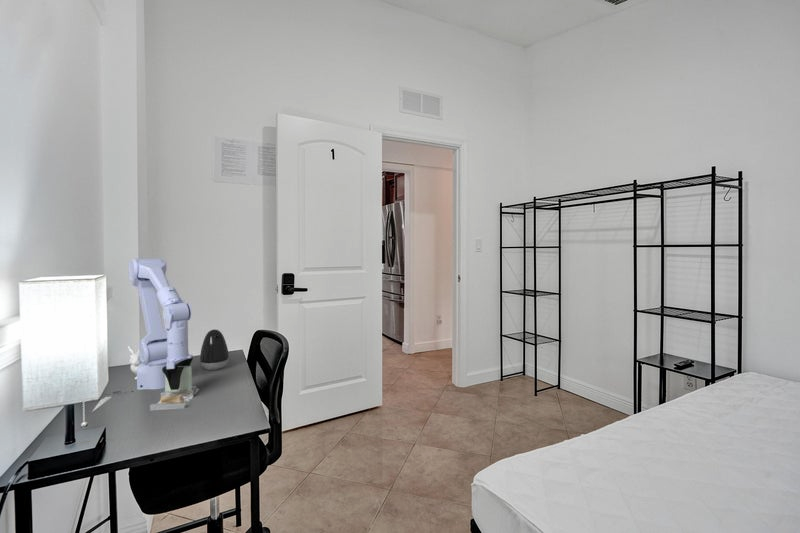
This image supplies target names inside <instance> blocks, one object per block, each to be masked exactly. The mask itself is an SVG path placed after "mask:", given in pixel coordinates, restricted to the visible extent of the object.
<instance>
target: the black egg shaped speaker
mask: <svg viewBox="0 0 800 533" xmlns="http://www.w3.org/2000/svg"><path fill="white" fill-rule="evenodd" d="M229 357H230V355H229V349H228V344H227V342H226V339H225V337H224V334H223V333H222V332H221V330H219V329H215V328H214V329H210V330H209V331H207V333H206V334H205V337H204V338H203V342H202V344H201V347H200V354H199V361H200V364H201V365H202V367H203V368H204V369H206V370H208V371H217V370H221V369H224V367H226V365H227V363H228V360H229V359H230V358H229Z"/></svg>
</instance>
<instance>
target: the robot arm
mask: <svg viewBox="0 0 800 533" xmlns="http://www.w3.org/2000/svg"><path fill="white" fill-rule="evenodd" d="M166 272H167V262H166V260H165V259H164V258H162V257H157V258H134V257H133V258H132V259H130V261H129V264H128V274H129V278H130V282H131V285H132V286H134V287H135V288H136V290H137V291H138V295H139V300H140V307H141V311H142V317H143V322H144V325H145V332H146V335H145V336H144V337H142V338H141V339H140V341H139V342H138V350H139V357H140V360H141V362H143V363H140V364H139V366H138V369H137V374H136V377H137V379H136V390H139V391H140V390H160V389H165V375H166V377H167V380H168V383H169V386H170V389H171V390H178V389H179V386H180V378H181V374H182V371H183V369H184V367H179V366H191V363H192V362H193V359H194V357H193V354H190V353H189V328H188V327H189V325H188V324H189V322H188V321H189V320H190V319H191V318H192V317H191V316H192V309H191V308H192V307H191V305H190V304H189V302H187V301H185V300H182V298H181V297H180V295H179V293H178V291H177V289H176V288H175V287H173V286H171V285H170V284H169V280H168V279H167V277H166ZM156 290H157V292H156ZM158 302H159V303H158ZM159 304H160V305H161V308H162V315H161V312H160V308H159ZM161 316H162V318H163V321H164V327H165V329H166V331H164V327H163V322H162V318H161Z"/></svg>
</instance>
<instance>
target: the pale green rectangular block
mask: <svg viewBox="0 0 800 533" xmlns="http://www.w3.org/2000/svg"><path fill="white" fill-rule="evenodd" d="M179 367H184V369H183V371H182V374H181V378H180V386H179V389H178V390H171V389H170V386H169V383H168V380H167V377H166V375H165V388H164V392H165V391H166V392H170V391H186V390H192V387H193V383H192V382H193V378H192V377H193V375H192V368H193V367H192V365H190V366H179Z"/></svg>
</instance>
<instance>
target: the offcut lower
mask: <svg viewBox="0 0 800 533" xmlns="http://www.w3.org/2000/svg"><path fill="white" fill-rule="evenodd" d="M159 401H160V400H159ZM159 401H158V402H159ZM158 402H157V403H158ZM179 402H184V398H182V399H181V400H180V401H179ZM160 403H161V401H160V402H159V403H158V404H160ZM164 403H175V402H164Z"/></svg>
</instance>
